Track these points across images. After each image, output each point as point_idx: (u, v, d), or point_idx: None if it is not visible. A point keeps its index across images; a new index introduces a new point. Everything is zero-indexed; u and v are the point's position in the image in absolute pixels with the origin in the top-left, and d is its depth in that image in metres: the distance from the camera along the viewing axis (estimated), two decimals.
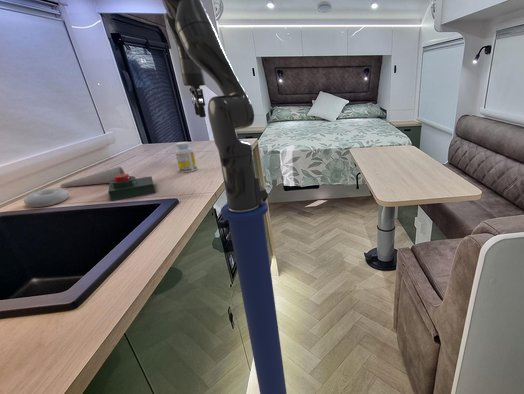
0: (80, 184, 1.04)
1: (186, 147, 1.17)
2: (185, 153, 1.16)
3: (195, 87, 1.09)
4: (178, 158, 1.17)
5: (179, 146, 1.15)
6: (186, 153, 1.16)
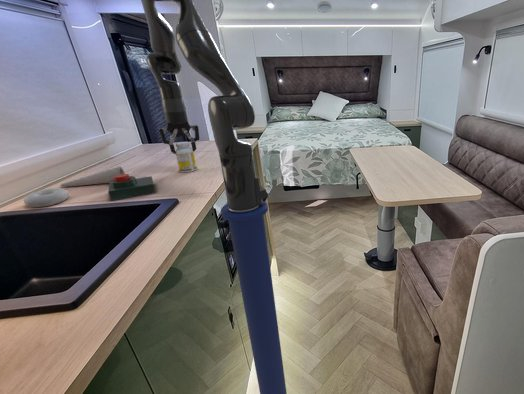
0: (80, 184, 1.04)
1: (186, 147, 1.17)
2: (185, 153, 1.16)
3: (188, 123, 1.16)
4: (178, 158, 1.17)
5: (179, 146, 1.15)
6: (186, 153, 1.16)
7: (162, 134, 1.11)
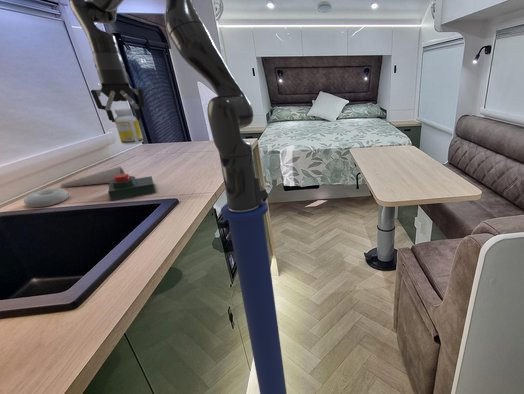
0: (80, 184, 1.04)
1: (127, 114, 0.99)
2: (125, 121, 0.98)
3: (129, 85, 0.98)
4: (118, 127, 0.99)
5: (118, 112, 0.97)
6: (127, 121, 0.98)
7: (95, 97, 0.93)
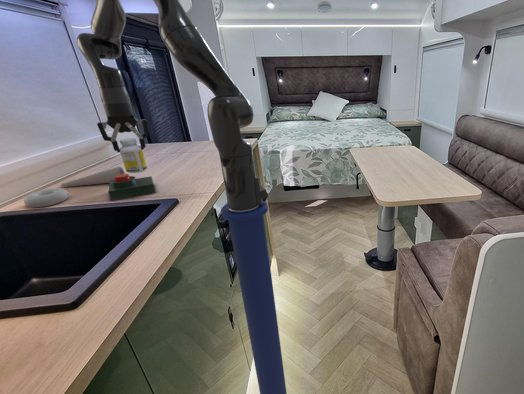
0: (80, 184, 1.04)
1: (132, 144, 1.02)
2: (130, 151, 1.01)
3: (134, 117, 1.01)
4: (123, 157, 1.02)
5: (123, 143, 1.00)
6: (131, 151, 1.01)
7: (101, 129, 0.96)
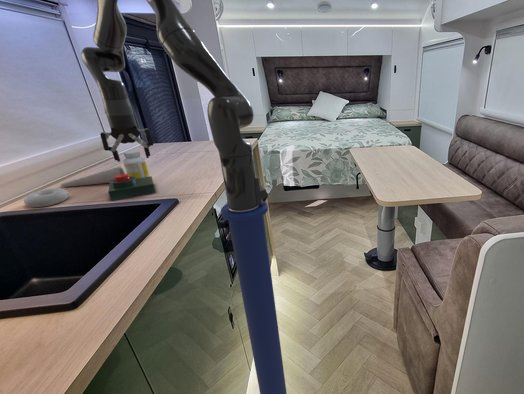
0: (80, 184, 1.04)
1: (136, 156, 1.03)
2: (134, 163, 1.03)
3: (137, 128, 1.02)
4: (126, 169, 1.03)
5: (127, 155, 1.02)
6: (135, 163, 1.03)
7: (103, 139, 0.97)
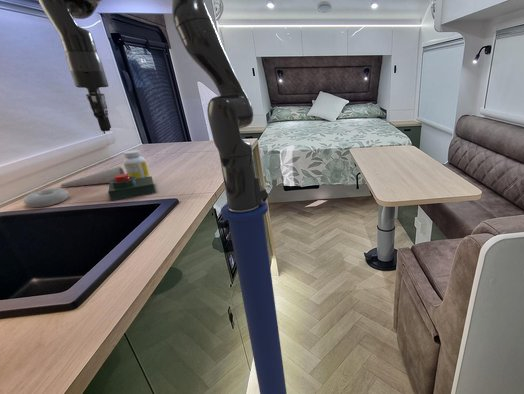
0: (80, 184, 1.04)
1: (136, 156, 1.03)
2: (134, 163, 1.03)
3: None
4: (126, 169, 1.03)
5: (127, 155, 1.02)
6: (135, 163, 1.03)
7: (101, 103, 0.83)
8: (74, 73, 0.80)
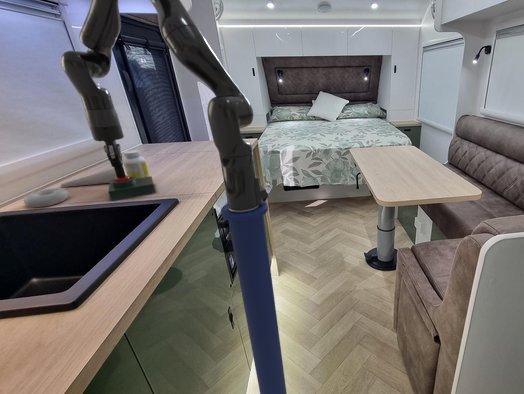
0: (80, 184, 1.04)
1: (136, 156, 1.03)
2: (134, 163, 1.03)
3: None
4: (126, 169, 1.03)
5: (127, 155, 1.02)
6: (135, 163, 1.03)
7: (119, 157, 0.90)
8: (93, 129, 0.86)
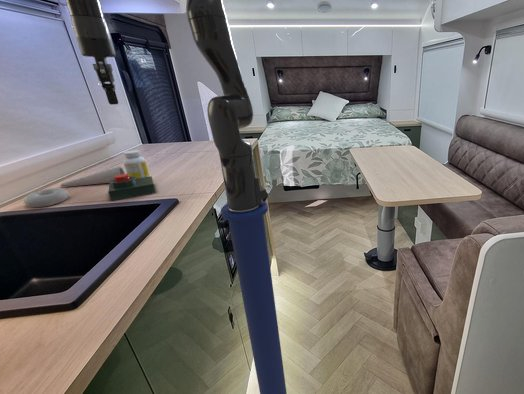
0: (80, 184, 1.04)
1: (136, 156, 1.03)
2: (134, 163, 1.03)
3: None
4: (126, 169, 1.03)
5: (127, 155, 1.02)
6: (135, 163, 1.03)
7: (110, 76, 0.79)
8: (80, 40, 0.75)
